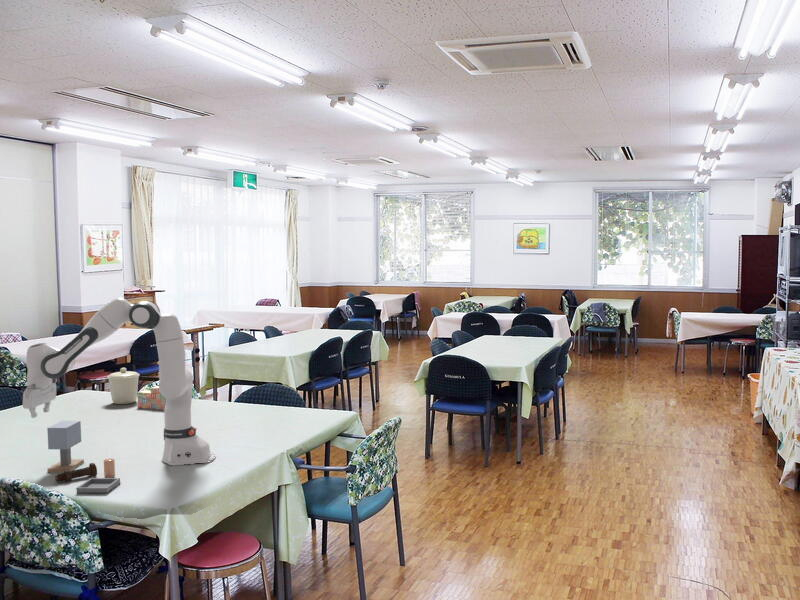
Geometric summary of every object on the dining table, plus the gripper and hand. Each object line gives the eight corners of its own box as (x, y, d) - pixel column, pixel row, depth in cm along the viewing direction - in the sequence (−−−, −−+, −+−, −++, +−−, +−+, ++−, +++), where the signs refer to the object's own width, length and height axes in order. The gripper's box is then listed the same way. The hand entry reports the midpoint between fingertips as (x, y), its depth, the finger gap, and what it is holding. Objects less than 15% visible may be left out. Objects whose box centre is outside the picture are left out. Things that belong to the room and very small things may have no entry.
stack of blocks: (137, 408, 414) (136, 387, 413) (144, 405, 420) (143, 385, 419) (170, 410, 408) (169, 388, 407) (176, 407, 414) (175, 386, 413)
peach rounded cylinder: (116, 475, 291) (116, 458, 291) (112, 478, 287) (111, 461, 287) (107, 475, 291) (106, 458, 291) (102, 478, 287) (102, 461, 287)
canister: (134, 398, 440) (133, 364, 439) (145, 402, 427) (144, 367, 425) (104, 402, 429) (102, 367, 427) (114, 407, 415) (112, 371, 413)
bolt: (55, 487, 283) (95, 478, 293) (58, 484, 279) (98, 474, 289) (52, 473, 284) (91, 464, 294) (55, 469, 281) (95, 460, 291)
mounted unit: (83, 462, 308) (82, 420, 307) (69, 472, 296) (67, 428, 294) (62, 462, 309) (60, 420, 307) (46, 472, 296) (44, 428, 294)
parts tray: (120, 483, 281) (120, 478, 281) (107, 493, 269) (106, 488, 269) (91, 483, 281) (90, 478, 281) (76, 493, 270) (76, 488, 270)
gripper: (32, 386, 289) (34, 420, 290) (58, 377, 310) (59, 409, 311) (17, 386, 290) (19, 420, 291) (44, 377, 310) (45, 409, 311)
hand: (40, 414), depth 301 cm, fingers open, 8 cm apart
